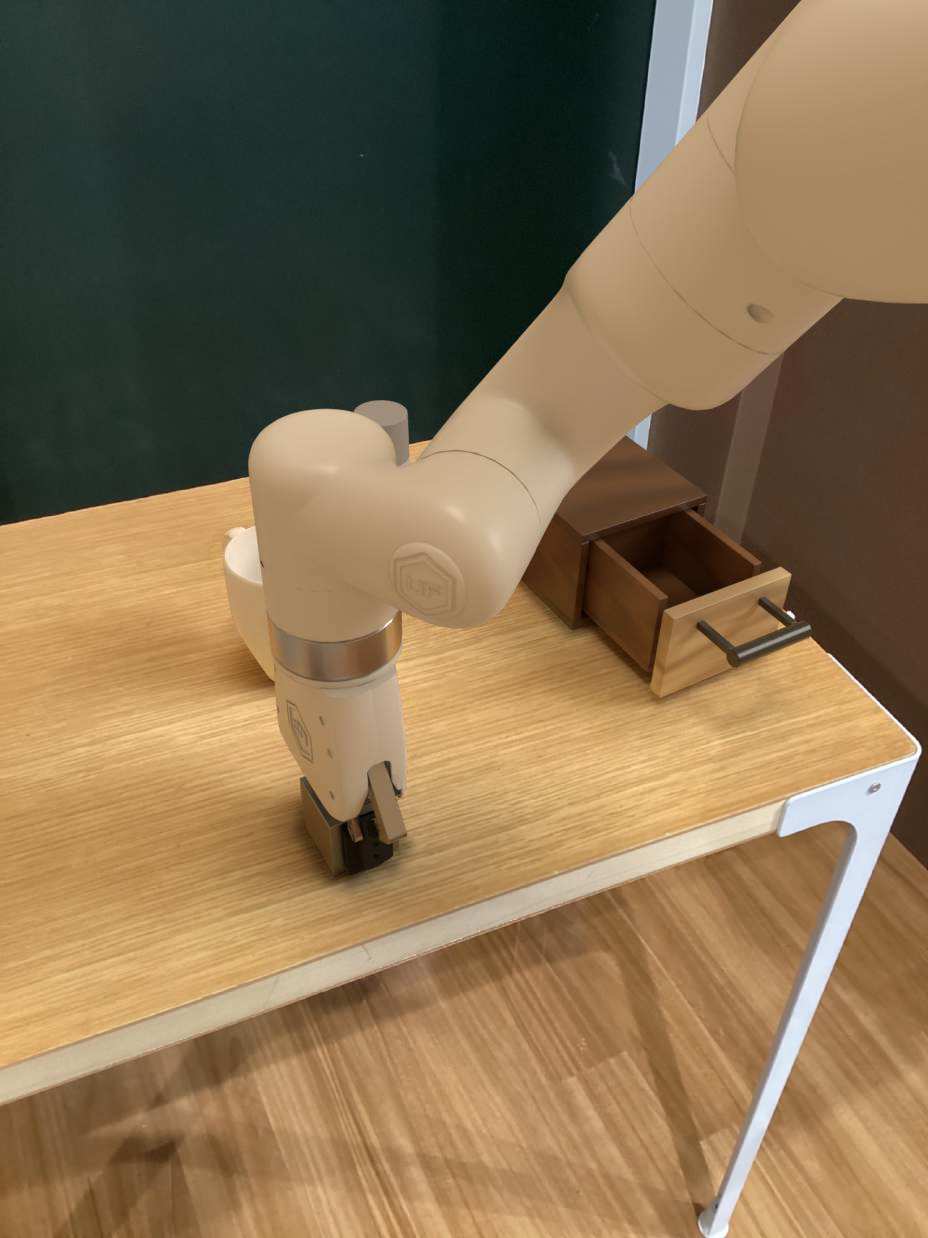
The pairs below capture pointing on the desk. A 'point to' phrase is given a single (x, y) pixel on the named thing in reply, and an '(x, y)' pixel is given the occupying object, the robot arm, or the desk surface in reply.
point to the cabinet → (603, 521)
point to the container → (390, 424)
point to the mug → (247, 593)
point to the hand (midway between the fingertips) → (351, 833)
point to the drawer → (686, 600)
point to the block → (327, 828)
